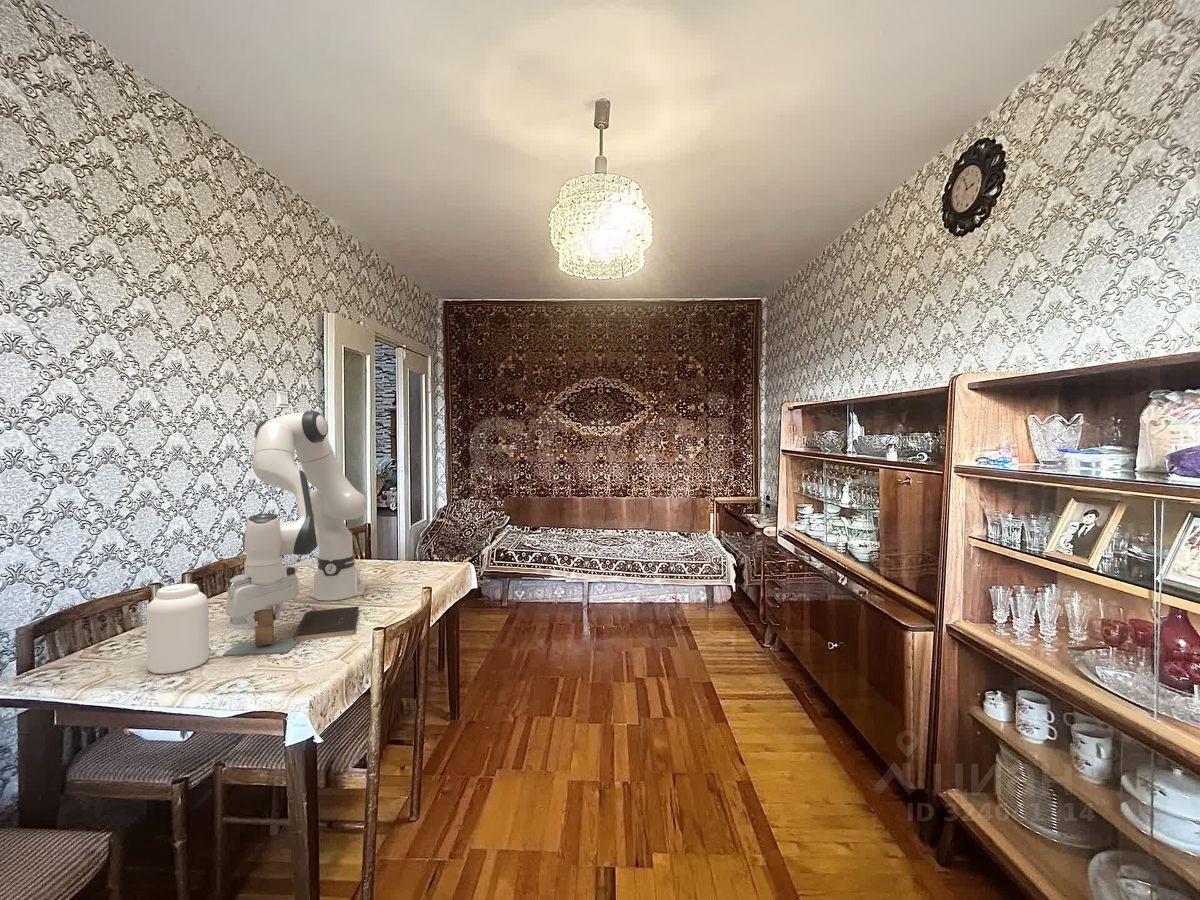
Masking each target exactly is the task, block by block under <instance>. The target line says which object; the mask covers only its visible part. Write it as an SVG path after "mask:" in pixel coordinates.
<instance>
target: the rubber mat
mask: <svg viewBox="0 0 1200 900" xmlns="http://www.w3.org/2000/svg"><path fill="white" fill-rule="evenodd" d="M301 641H302V640H293V639H289V640H288V639H287V640H273V643H272V644H264V645H257V646H255V641H242V642H241V641H239V642H238V643H237V644H235V645H234V646H232V647H231V648H230V649H228V650H227V651H226V652H224V653H223V654H222V657H232V656H234V657H235V656H237V657H239V656H255V655H259V656H260V655H276V654H277V655H278V654H289V652H291V651H292V649H294V648H295V647H296V646H297V645H298V644H299V643H300V642H301Z"/></svg>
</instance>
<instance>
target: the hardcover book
mask: <svg viewBox="0 0 1200 900" xmlns="http://www.w3.org/2000/svg"><path fill="white" fill-rule="evenodd" d="M359 609H360V607H359V605H358V606H350V607H348V606H347V607H339V608H330V609H329V608H327V609H318V610H317V609H316V610H308V611H305V612H304V614H303V617H302V619H301V621H300V622H299V625H298V626H297V628H296V631H295V632H294V635H293V638H292V640H301V641H305V640H315V639H325V638H334V637H341V636H342V637H343V636H351V635H354V632H355V628H356V624H357V618H358V613H359Z"/></svg>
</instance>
